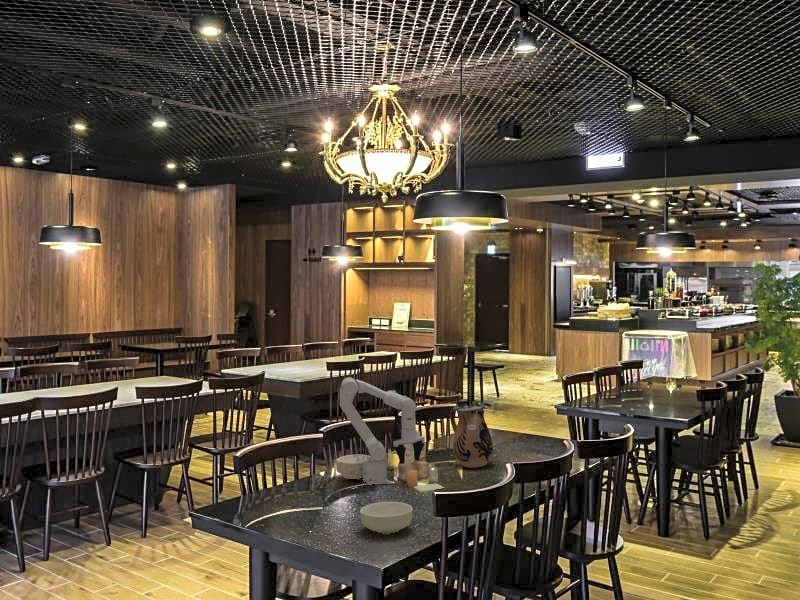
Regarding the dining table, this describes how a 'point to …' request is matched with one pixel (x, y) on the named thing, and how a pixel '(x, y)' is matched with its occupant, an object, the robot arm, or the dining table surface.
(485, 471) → the dining table surface
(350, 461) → the paper bowls
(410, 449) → the ink cartridge box
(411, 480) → the terracotta cap
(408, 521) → the cereal bowl
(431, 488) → the mat
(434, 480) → the grey shiny short cylinder
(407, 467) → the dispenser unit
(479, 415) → the ceramic pitcher
